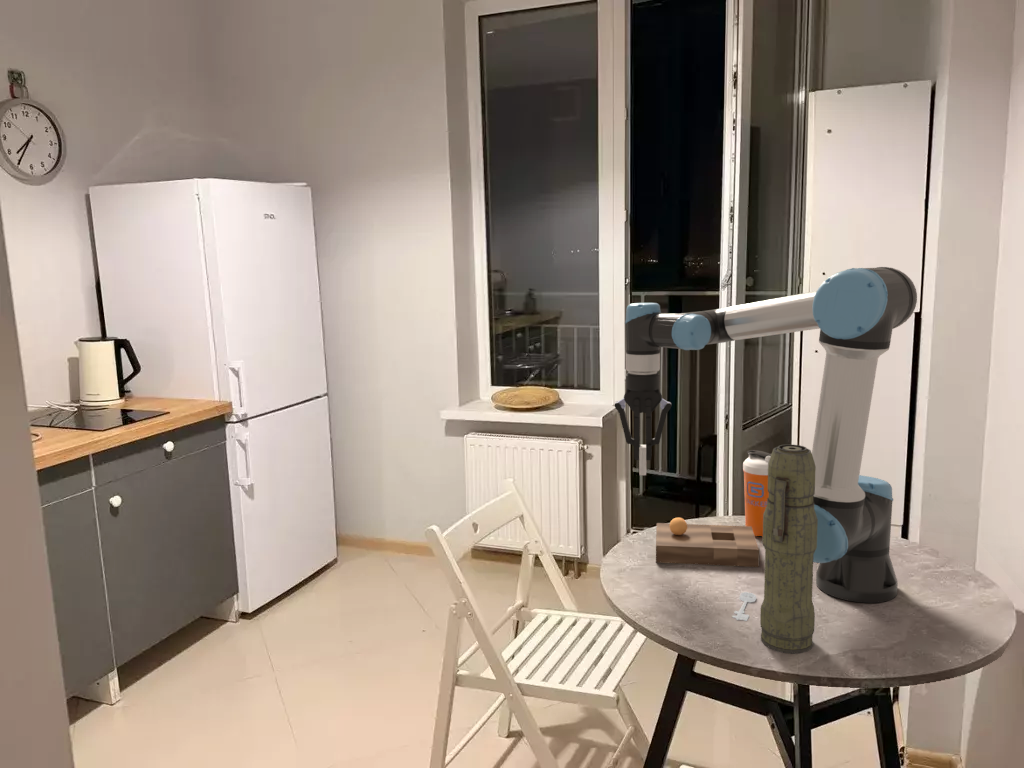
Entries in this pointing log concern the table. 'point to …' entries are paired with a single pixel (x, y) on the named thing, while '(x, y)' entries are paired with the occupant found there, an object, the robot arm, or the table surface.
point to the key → (745, 599)
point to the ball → (678, 526)
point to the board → (707, 545)
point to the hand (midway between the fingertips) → (642, 473)
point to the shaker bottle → (756, 489)
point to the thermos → (789, 551)
